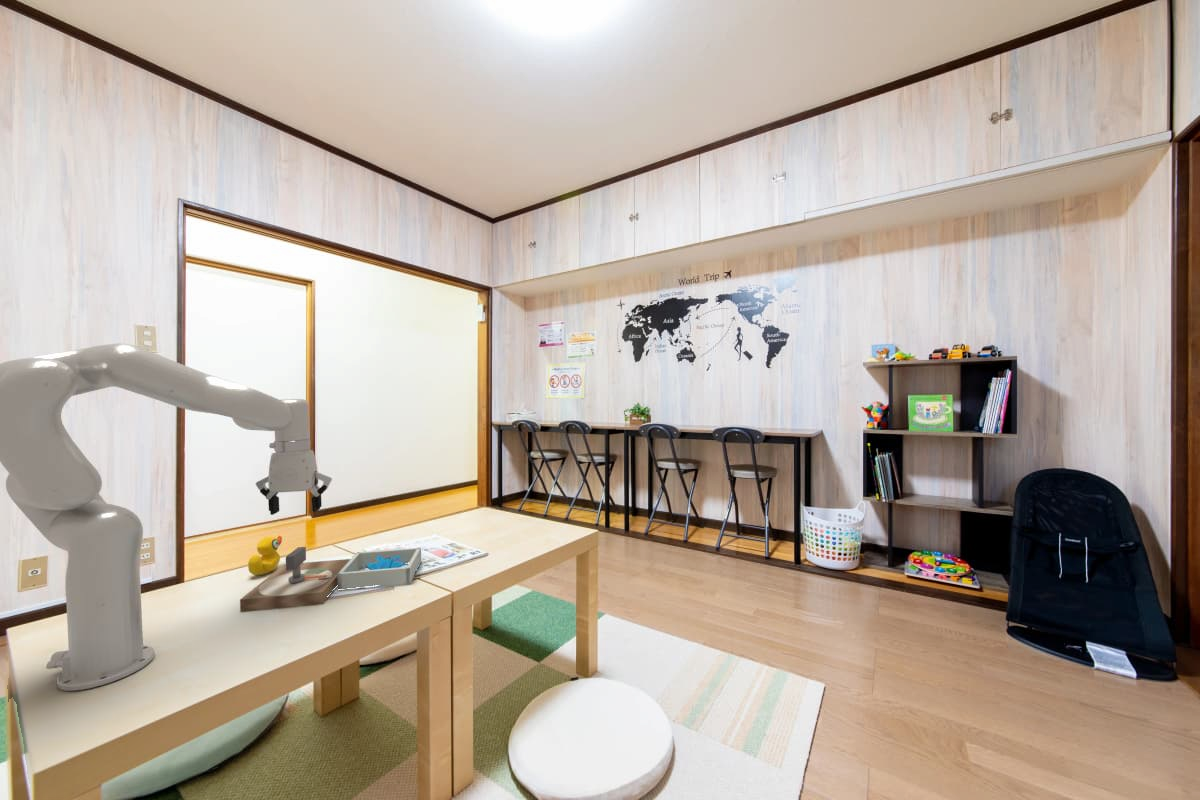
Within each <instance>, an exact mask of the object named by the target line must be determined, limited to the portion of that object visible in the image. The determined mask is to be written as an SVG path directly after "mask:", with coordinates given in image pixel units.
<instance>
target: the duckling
mask: <svg viewBox="0 0 1200 800" xmlns="http://www.w3.org/2000/svg"><path fill="white" fill-rule="evenodd" d="M282 540H283V537H282V536H281V535H278V536H277V537H275V536H266V537H264V538H261V539H260V541H259V542H258V544H257V547H256V550H257V551H256V552H257V553H258V554H254V555H252V556H251V557H249V559H248V567H247V568H248V572H249V573H250V574H252V575H254V576H262V575H266V574H268V573H270V572H272V571H274V570H275V569H276V568H277V567H278V565H279V562H280V559H281V557H280V553H279V552H277V550H278V549H279V546H281V544H282ZM259 554H260V555H261V556H260V555H259Z"/></svg>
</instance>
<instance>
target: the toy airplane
mask: <svg viewBox="0 0 1200 800" xmlns="http://www.w3.org/2000/svg"><path fill="white" fill-rule="evenodd" d="M401 556H402V555H398V556H394V558H388V559H387V558H385V559H383V557H381V556H376V558H377V559H378V560H379V561H380V562H376V563H371V564H366V566H365V567H366V568H365V569H367V570H377V569H389V568H401V567H402V566H403V567H404V566H405V565H406V564H405V563H406V562H398V561H395V560H397V559H398V558H400V557H401Z"/></svg>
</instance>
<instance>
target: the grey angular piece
mask: <svg viewBox="0 0 1200 800" xmlns="http://www.w3.org/2000/svg"><path fill="white" fill-rule="evenodd" d="M306 560H307V547H306V546H298V547H296V548H295V549H294V550H293V551H291V552H290V553H289V554H287V555H286V556H285V564H286V571H287V570H292V574H293V576H291V577H289V578H288V582H289V583H297V582H300V581H303V580H304V579H313V578H325V577H327V575H315V576H305V575H304V574H301V563H305V561H306Z"/></svg>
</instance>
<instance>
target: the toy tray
mask: <svg viewBox="0 0 1200 800" xmlns="http://www.w3.org/2000/svg"><path fill="white" fill-rule="evenodd" d="M398 555H402V556H401V557H400V558H398V559H397V560H395V561H398V562H406V563H408V562H409V564H407V565H406V566H403V567H402V566H401V567H399V568H389V569H377V570H370V569H367V568H366V567H365V566H366V564H371V563H376V562H380V561H379V560H378V559H377V558H376V556H381V557H383V559H385V558H387V559H388V558H394V556H398ZM350 559H351V560H350V561H349V562H348V563H347V564H346V565H345V566H344V567H343V568H342V570H341V571H340V572H339V573H338V574H337V583H338V587H337V590H338V589H347V588H356V587H364V586H373V585H374V586H375V585H380V586H387V587H398V586H406V585H408V586H409V585H411V584H412V581H413V579H414V577H415V576H414V574H415V571H416V569H417V567H418V565H419V564H420V565H421V563H422V548H421V547H420V546H419V547H410V548H407V547H406V548H396V549H395V548H394V549H385V550H372V551H358V552H356V553H355V554H354V555H353V556H352V557H351V558H350ZM420 562H421V563H420ZM360 569H367V570H360ZM415 575H416V574H415Z"/></svg>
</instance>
